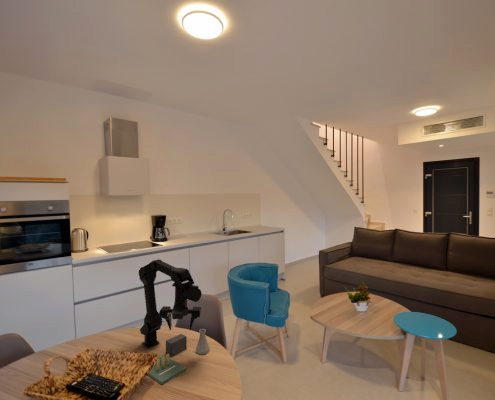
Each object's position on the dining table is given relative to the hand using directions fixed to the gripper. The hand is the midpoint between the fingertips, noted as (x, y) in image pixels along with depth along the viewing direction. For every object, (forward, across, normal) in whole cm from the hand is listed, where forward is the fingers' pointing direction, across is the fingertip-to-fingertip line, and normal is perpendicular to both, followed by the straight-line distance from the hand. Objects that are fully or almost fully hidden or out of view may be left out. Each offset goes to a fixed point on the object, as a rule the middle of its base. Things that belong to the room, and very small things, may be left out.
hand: (180, 329), depth 128 cm
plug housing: (+13, -3, +5) cm, 14 cm away
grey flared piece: (+13, +10, +5) cm, 17 cm away
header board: (+13, -5, -10) cm, 17 cm away
